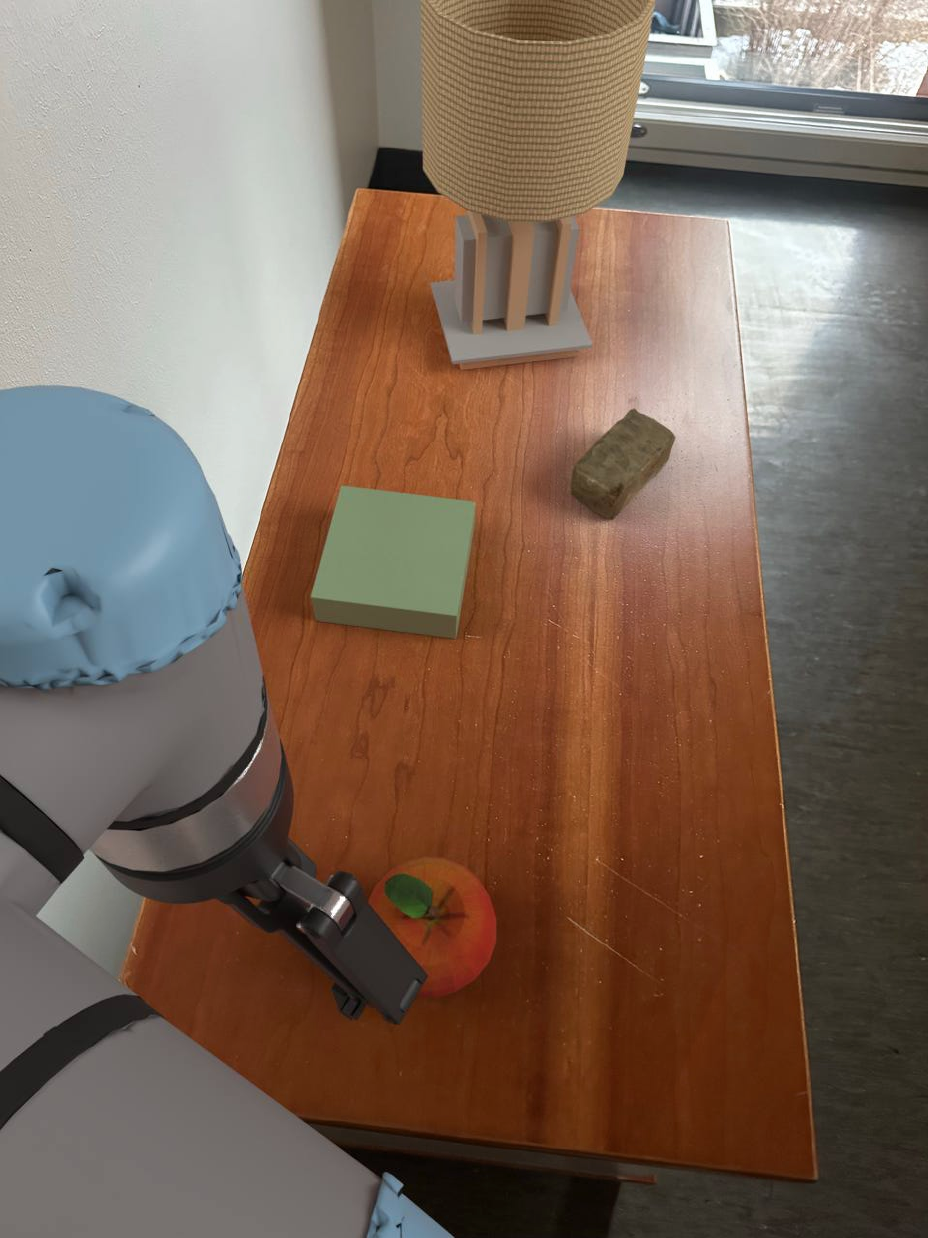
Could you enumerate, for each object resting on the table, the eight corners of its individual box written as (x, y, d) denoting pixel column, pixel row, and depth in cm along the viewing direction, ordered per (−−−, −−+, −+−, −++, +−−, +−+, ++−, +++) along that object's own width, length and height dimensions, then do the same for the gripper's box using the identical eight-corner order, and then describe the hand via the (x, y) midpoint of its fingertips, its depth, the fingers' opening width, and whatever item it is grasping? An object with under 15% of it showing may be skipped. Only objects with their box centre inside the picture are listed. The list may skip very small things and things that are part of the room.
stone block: (563, 499, 90) (569, 465, 86) (624, 435, 95) (633, 400, 91) (611, 528, 88) (620, 494, 84) (671, 461, 93) (682, 427, 89)
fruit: (451, 1036, 63) (453, 1013, 55) (341, 962, 66) (327, 929, 58) (517, 919, 68) (529, 881, 60) (412, 853, 70) (409, 808, 62)
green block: (456, 639, 81) (457, 616, 78) (315, 621, 82) (310, 597, 78) (474, 527, 88) (476, 501, 85) (344, 511, 89) (341, 484, 85)
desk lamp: (440, 399, 97) (442, 52, 67) (411, 284, 107) (401, -61, 78) (612, 378, 100) (688, 35, 70) (568, 268, 110) (617, -73, 80)
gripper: (535, 866, 30) (486, 988, 48) (0, 545, 36) (132, 759, 54) (417, 1076, 27) (411, 1125, 45) (-158, 681, 33) (39, 863, 50)
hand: (258, 924), depth 49 cm, fingers open, 13 cm apart
